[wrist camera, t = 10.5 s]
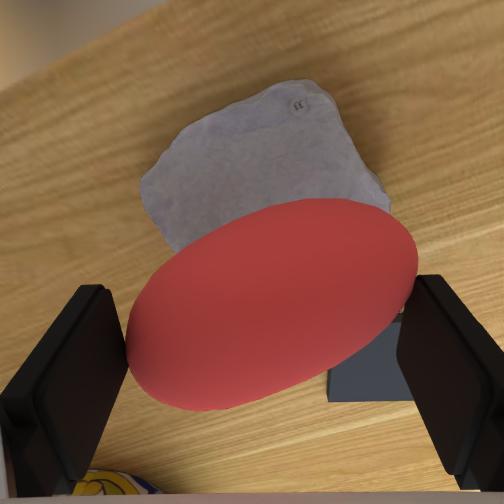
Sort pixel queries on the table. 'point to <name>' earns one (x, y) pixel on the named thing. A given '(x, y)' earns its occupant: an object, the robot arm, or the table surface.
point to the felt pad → (371, 372)
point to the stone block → (256, 163)
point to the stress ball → (269, 302)
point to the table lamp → (112, 485)
